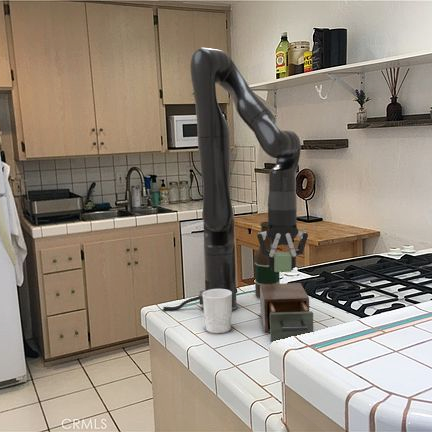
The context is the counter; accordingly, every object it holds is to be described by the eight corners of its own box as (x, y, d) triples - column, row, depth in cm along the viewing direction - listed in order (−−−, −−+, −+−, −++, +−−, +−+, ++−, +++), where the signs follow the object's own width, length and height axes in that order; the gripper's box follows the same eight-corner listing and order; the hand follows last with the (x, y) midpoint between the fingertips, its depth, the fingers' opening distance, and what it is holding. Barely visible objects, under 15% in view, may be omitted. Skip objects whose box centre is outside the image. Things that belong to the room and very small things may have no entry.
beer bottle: (284, 295, 161) (283, 222, 157) (266, 301, 157) (265, 225, 153) (268, 290, 167) (267, 219, 163) (250, 295, 163) (248, 222, 159)
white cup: (199, 326, 138) (197, 291, 136) (225, 321, 141) (224, 287, 139) (210, 336, 130) (209, 299, 129) (238, 330, 134) (236, 294, 132)
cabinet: (309, 331, 131) (309, 298, 130) (265, 332, 132) (264, 299, 130) (300, 313, 145) (300, 282, 143) (260, 314, 145) (259, 284, 144)
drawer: (317, 349, 118) (317, 320, 117) (273, 351, 118) (272, 321, 117) (304, 322, 135) (304, 296, 134) (265, 323, 135) (265, 297, 134)
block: (274, 272, 134) (274, 255, 133) (273, 267, 138) (273, 252, 137) (291, 271, 134) (291, 255, 133) (289, 267, 138) (289, 251, 137)
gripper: (256, 209, 130) (256, 273, 132) (311, 208, 129) (311, 273, 132) (254, 205, 137) (254, 266, 140) (306, 204, 137) (306, 265, 139)
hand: (282, 269), depth 136 cm, fingers closed on block, 4 cm apart
